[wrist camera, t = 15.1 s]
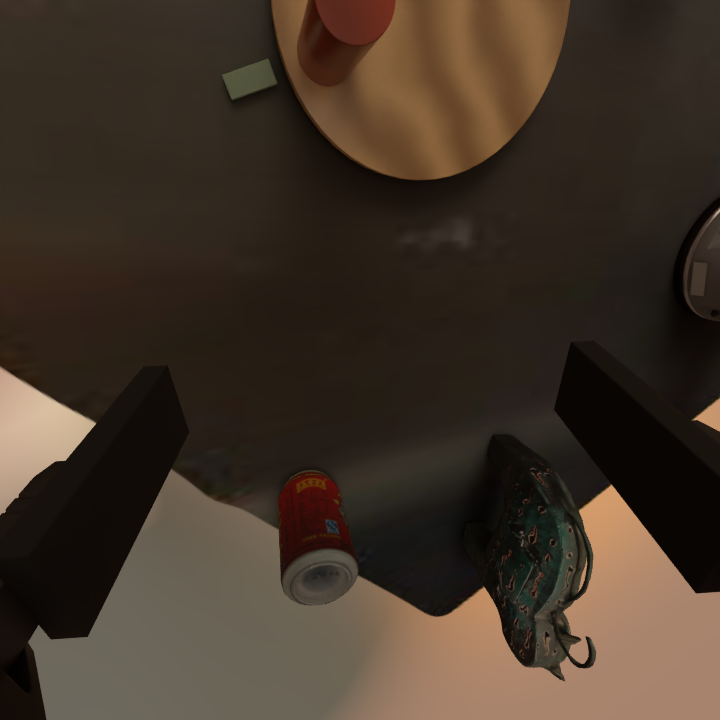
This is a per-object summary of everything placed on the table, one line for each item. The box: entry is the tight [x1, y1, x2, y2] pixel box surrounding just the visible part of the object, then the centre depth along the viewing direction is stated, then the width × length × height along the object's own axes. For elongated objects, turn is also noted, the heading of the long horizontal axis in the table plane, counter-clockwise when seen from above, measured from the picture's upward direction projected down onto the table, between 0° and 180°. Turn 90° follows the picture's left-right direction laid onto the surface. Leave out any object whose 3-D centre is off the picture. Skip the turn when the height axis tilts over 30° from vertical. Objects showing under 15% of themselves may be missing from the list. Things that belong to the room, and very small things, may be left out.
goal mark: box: [222, 59, 277, 101], centre depth 29 cm, size 4×2×1 cm, turn 108°
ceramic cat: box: [462, 435, 596, 681], centre depth 44 cm, size 20×6×20 cm, turn 173°
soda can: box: [278, 470, 358, 605], centre depth 41 cm, size 7×7×12 cm
